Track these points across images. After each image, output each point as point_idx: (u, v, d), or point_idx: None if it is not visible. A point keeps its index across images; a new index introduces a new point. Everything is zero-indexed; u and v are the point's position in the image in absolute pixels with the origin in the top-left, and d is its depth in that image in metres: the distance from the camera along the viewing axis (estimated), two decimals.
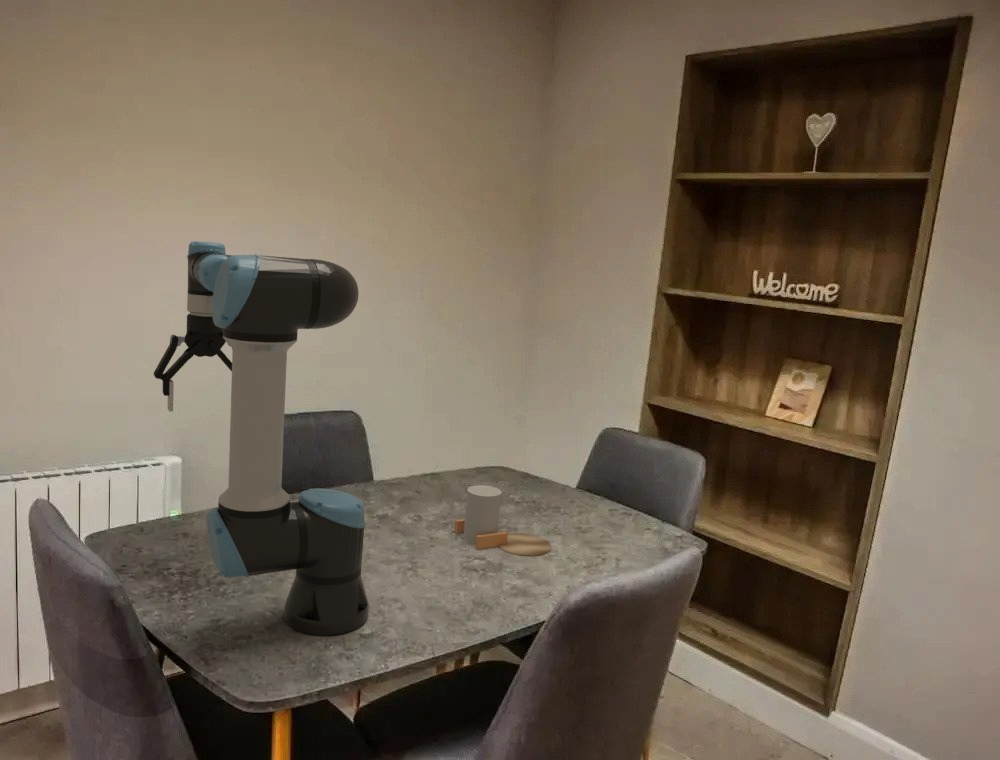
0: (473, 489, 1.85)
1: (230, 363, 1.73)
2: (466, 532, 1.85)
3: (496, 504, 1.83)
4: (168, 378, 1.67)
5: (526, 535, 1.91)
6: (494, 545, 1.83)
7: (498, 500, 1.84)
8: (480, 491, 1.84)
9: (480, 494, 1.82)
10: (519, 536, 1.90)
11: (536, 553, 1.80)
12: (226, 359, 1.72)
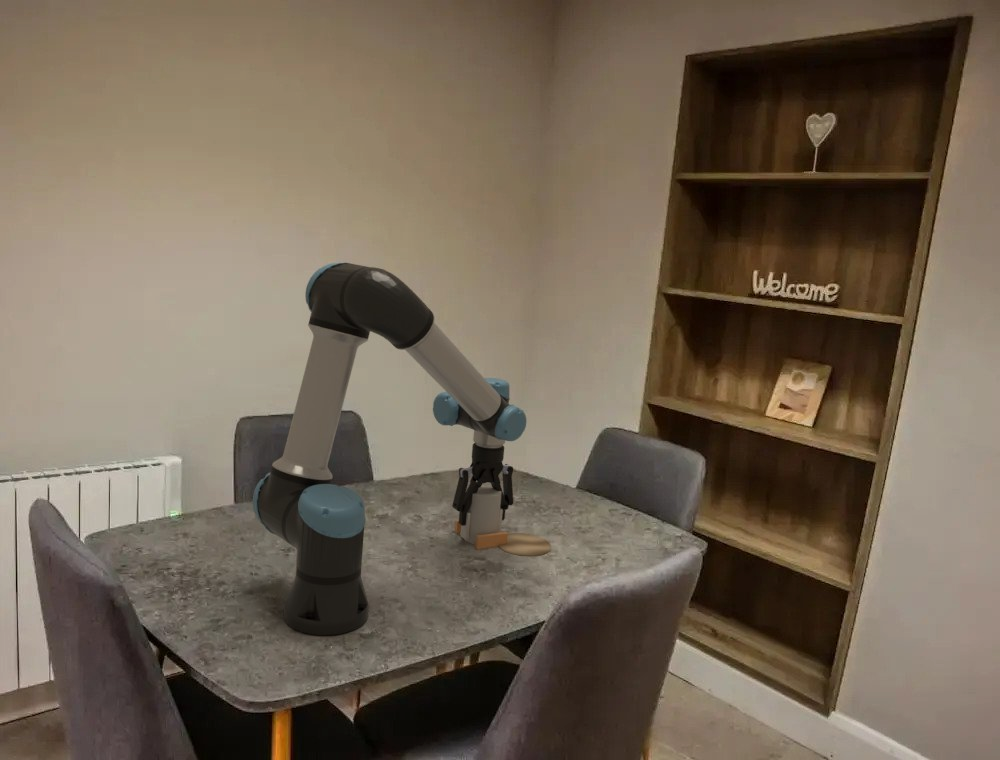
0: None
1: (501, 491, 1.86)
2: None
3: (496, 504, 1.83)
4: (466, 510, 1.82)
5: (526, 535, 1.91)
6: (494, 545, 1.83)
7: (498, 500, 1.84)
8: (480, 491, 1.84)
9: (480, 494, 1.82)
10: (519, 536, 1.90)
11: (536, 553, 1.80)
12: (499, 487, 1.86)
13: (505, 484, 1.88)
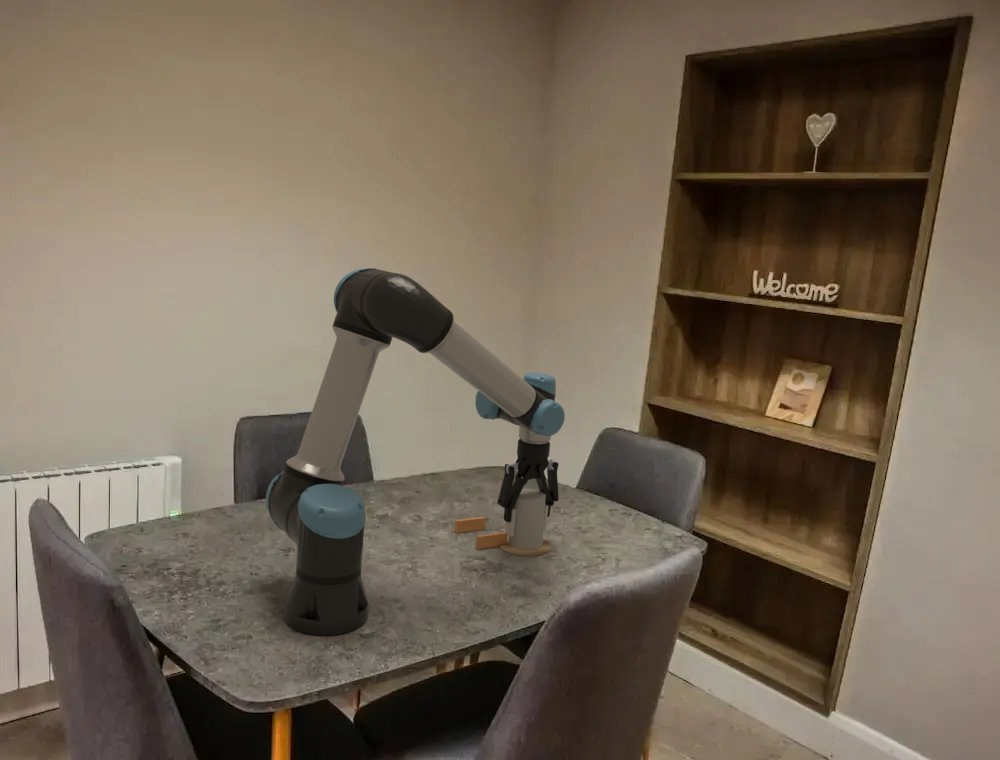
0: None
1: (546, 487, 1.84)
2: (511, 537, 1.83)
3: (541, 508, 1.81)
4: (512, 506, 1.80)
5: None
6: (494, 545, 1.83)
7: (543, 504, 1.82)
8: (524, 495, 1.82)
9: (525, 498, 1.80)
10: None
11: (536, 553, 1.80)
12: (545, 483, 1.84)
13: (550, 480, 1.86)
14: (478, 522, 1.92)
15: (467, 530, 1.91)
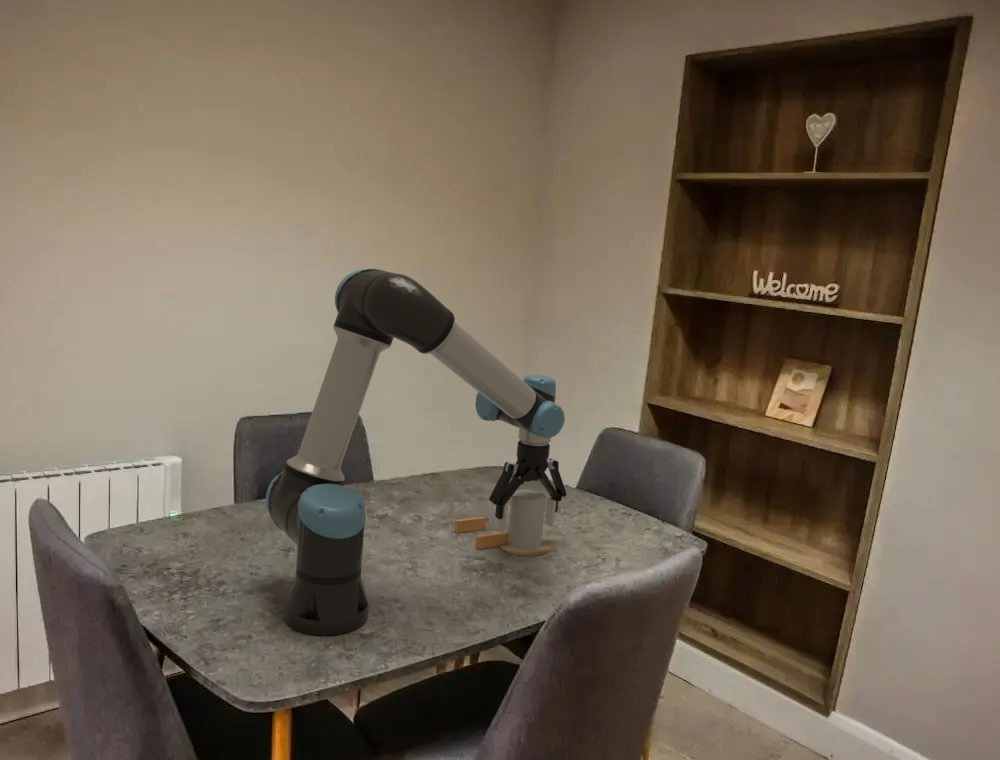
0: (517, 494, 1.84)
1: (551, 485, 1.85)
2: (510, 537, 1.83)
3: (541, 509, 1.81)
4: (504, 503, 1.79)
5: None
6: (494, 545, 1.83)
7: (543, 505, 1.82)
8: (524, 496, 1.82)
9: (525, 499, 1.81)
10: None
11: (536, 553, 1.80)
12: (548, 482, 1.84)
13: (554, 478, 1.86)
14: (478, 522, 1.92)
15: (467, 530, 1.91)
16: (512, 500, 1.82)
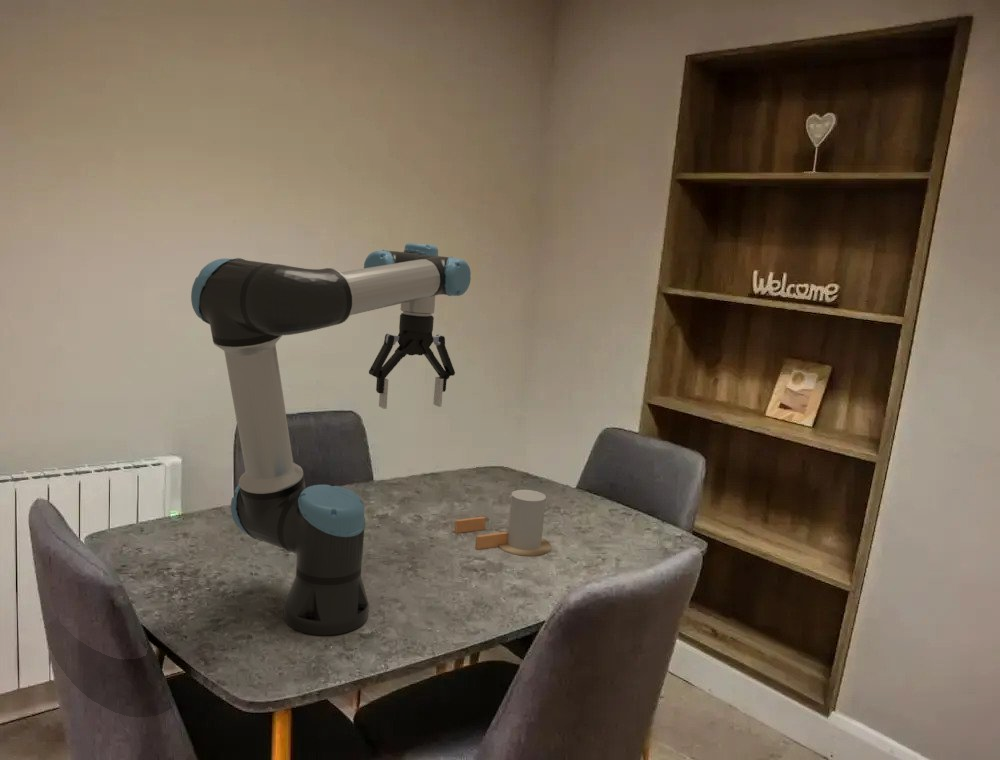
0: (517, 494, 1.84)
1: (437, 361, 1.77)
2: (510, 537, 1.83)
3: (541, 509, 1.81)
4: (384, 376, 1.71)
5: None
6: (494, 545, 1.83)
7: (543, 505, 1.82)
8: (524, 496, 1.82)
9: (525, 499, 1.81)
10: None
11: (536, 553, 1.80)
12: (434, 358, 1.77)
13: (441, 355, 1.79)
14: (478, 522, 1.92)
15: (467, 530, 1.91)
16: (512, 500, 1.82)
